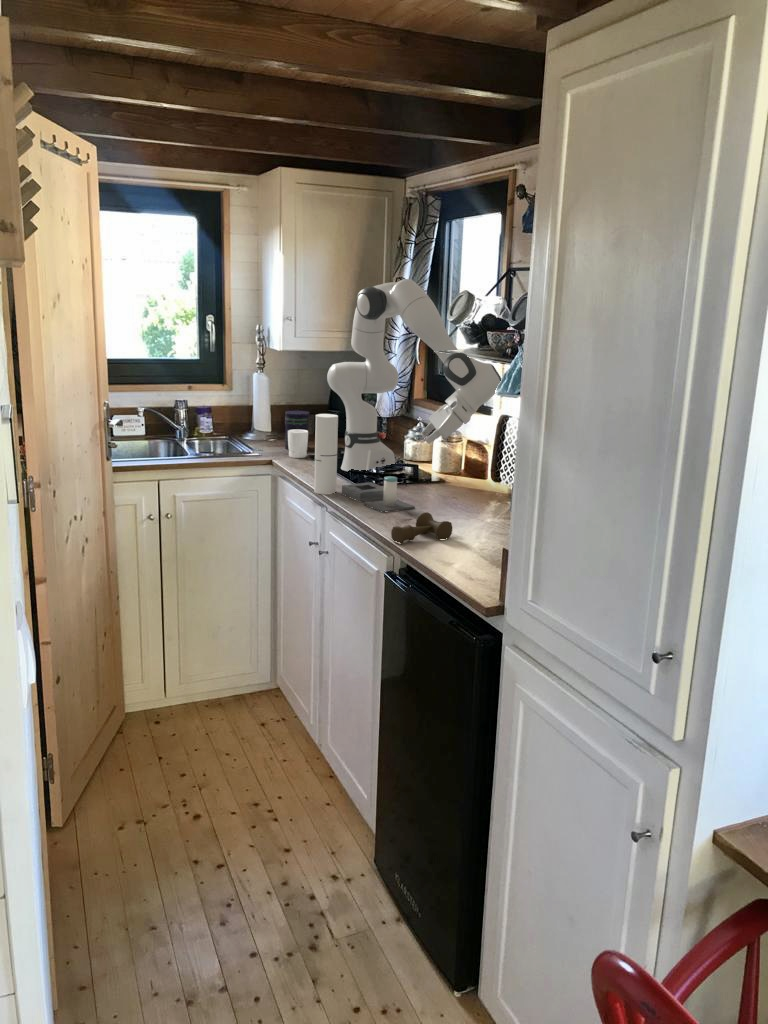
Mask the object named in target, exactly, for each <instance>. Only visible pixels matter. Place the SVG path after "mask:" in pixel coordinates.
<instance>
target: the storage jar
mask: <svg viewBox="0 0 768 1024" xmlns="http://www.w3.org/2000/svg"><path fill="white" fill-rule="evenodd" d="M284 414H285V416H284V426H285V435H284V449H285V450H286V451H289V448H288V430H294V429H300V430H307V431H308V432H309V427H310V416H309V415H310V411H307V410H299V409H298V410H294V409H293V410H286V411H285V413H284ZM309 443H310V436H309V434H308V444H307V451H308V450H309V448H310V447H309Z"/></svg>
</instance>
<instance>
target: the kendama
mask: <svg viewBox="0 0 768 1024" xmlns="http://www.w3.org/2000/svg"><path fill="white" fill-rule="evenodd" d="M415 521H416V522H415V526H412V525H410V524H405V525H404V526H403V527H401V526H399V525H395V526H392V529H391V532H390V533H391V534H390V535H391V539H393V540H394V541H397V542H400V543H403V544H404V542H405V541H410V540H412V541H414V539H415V538H416V537H417V536H418V535H421V534H425V533H424V532H427V533H433V534H434V535H435V536H436V538H437V539H438V540H439V539H446V538H448V539H450V538H451V536H452V534H453V523H452V522H451V521H449V520H443V521H442V520H441V521H437V520H436V519H435V520H434V517H433V516H432V514H431V513H429V512H427V511H426V512H422V513H420V514H419V515H418V516H417V518H416V520H415ZM393 540H392V541H393ZM394 541H393V542H394Z"/></svg>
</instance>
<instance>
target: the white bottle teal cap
mask: <svg viewBox="0 0 768 1024" xmlns="http://www.w3.org/2000/svg"><path fill="white" fill-rule="evenodd" d="M383 487H384V495H383V499H382V501H383V505H385V506H396V499H397V493H398V492H397V491H398V477H397V476H391V475H389V476H384V477H383Z"/></svg>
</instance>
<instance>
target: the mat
mask: <svg viewBox="0 0 768 1024" xmlns="http://www.w3.org/2000/svg"><path fill="white" fill-rule="evenodd" d="M364 504H366V505H368V506H370V507H373V508H375V509H377V510H379V511H382V512H384V513H386V512H385V511H392V512H398V511H397V510H399V511H404V509H406V510H412V509H415V508H416V507H415V506H414V505H413V504H410V503H407V502H405V501H403V500H400V499H398V498H396V506H385V505H383V500H376V501H369V502H364ZM366 505H365V506H366ZM368 506H367V507H368ZM370 507H369V508H370ZM375 509H374V510H375ZM377 510H376V511H377ZM379 511H378V512H379ZM382 512H381V513H382Z"/></svg>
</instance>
